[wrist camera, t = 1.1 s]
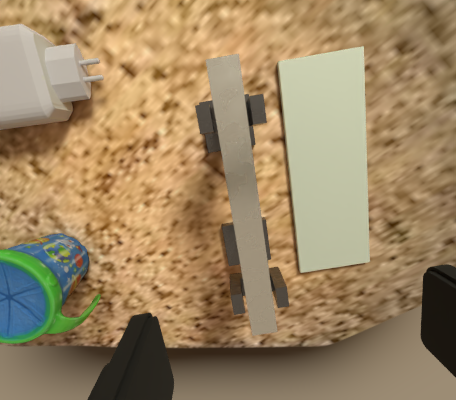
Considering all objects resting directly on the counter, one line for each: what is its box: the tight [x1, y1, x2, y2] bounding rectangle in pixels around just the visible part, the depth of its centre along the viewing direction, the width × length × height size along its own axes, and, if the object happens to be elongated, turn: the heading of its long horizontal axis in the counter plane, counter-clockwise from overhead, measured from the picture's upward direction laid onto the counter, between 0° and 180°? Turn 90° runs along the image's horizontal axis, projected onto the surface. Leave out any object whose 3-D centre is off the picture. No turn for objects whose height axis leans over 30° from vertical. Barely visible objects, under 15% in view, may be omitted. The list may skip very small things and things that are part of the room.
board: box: [277, 46, 370, 273], centre depth 32 cm, size 10×28×1 cm, turn 9°
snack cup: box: [0, 233, 101, 344], centre depth 30 cm, size 16×10×10 cm
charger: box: [0, 24, 104, 130], centre depth 28 cm, size 5×9×15 cm
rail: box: [206, 54, 277, 336], centre depth 21 cm, size 2×24×2 cm, turn 10°
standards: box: [195, 94, 289, 315], centre depth 27 cm, size 6×22×14 cm, turn 9°
